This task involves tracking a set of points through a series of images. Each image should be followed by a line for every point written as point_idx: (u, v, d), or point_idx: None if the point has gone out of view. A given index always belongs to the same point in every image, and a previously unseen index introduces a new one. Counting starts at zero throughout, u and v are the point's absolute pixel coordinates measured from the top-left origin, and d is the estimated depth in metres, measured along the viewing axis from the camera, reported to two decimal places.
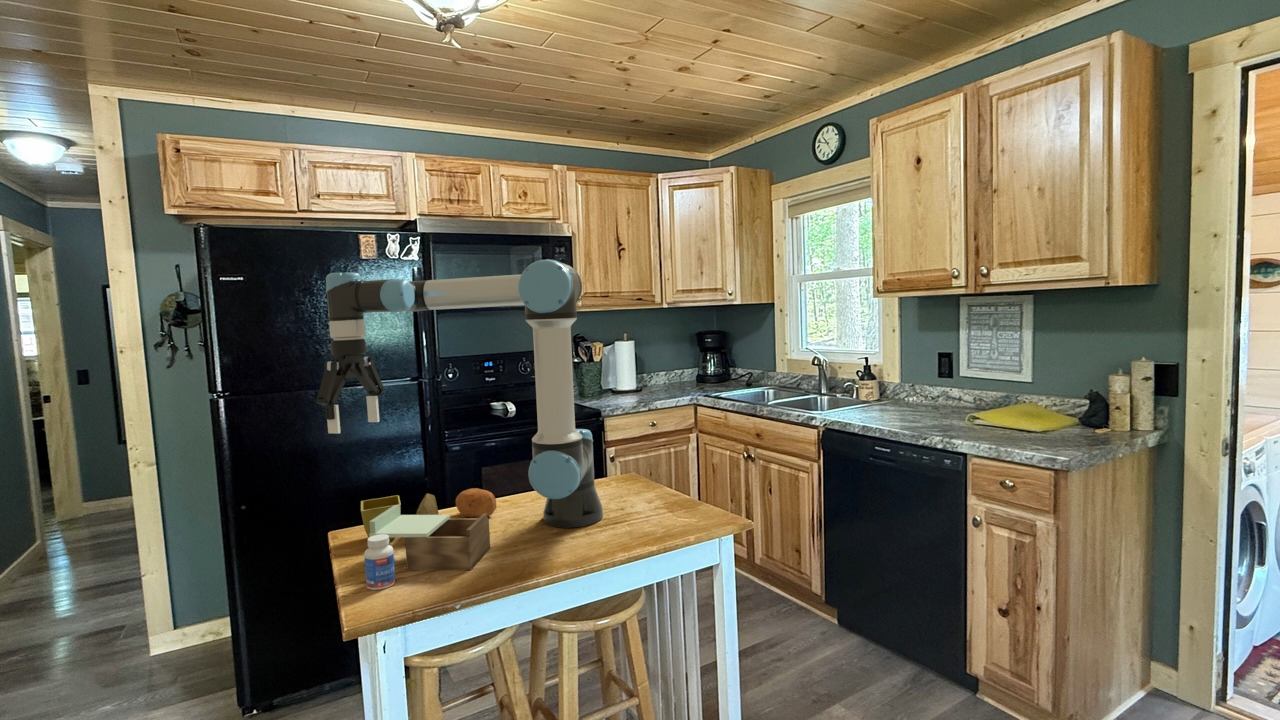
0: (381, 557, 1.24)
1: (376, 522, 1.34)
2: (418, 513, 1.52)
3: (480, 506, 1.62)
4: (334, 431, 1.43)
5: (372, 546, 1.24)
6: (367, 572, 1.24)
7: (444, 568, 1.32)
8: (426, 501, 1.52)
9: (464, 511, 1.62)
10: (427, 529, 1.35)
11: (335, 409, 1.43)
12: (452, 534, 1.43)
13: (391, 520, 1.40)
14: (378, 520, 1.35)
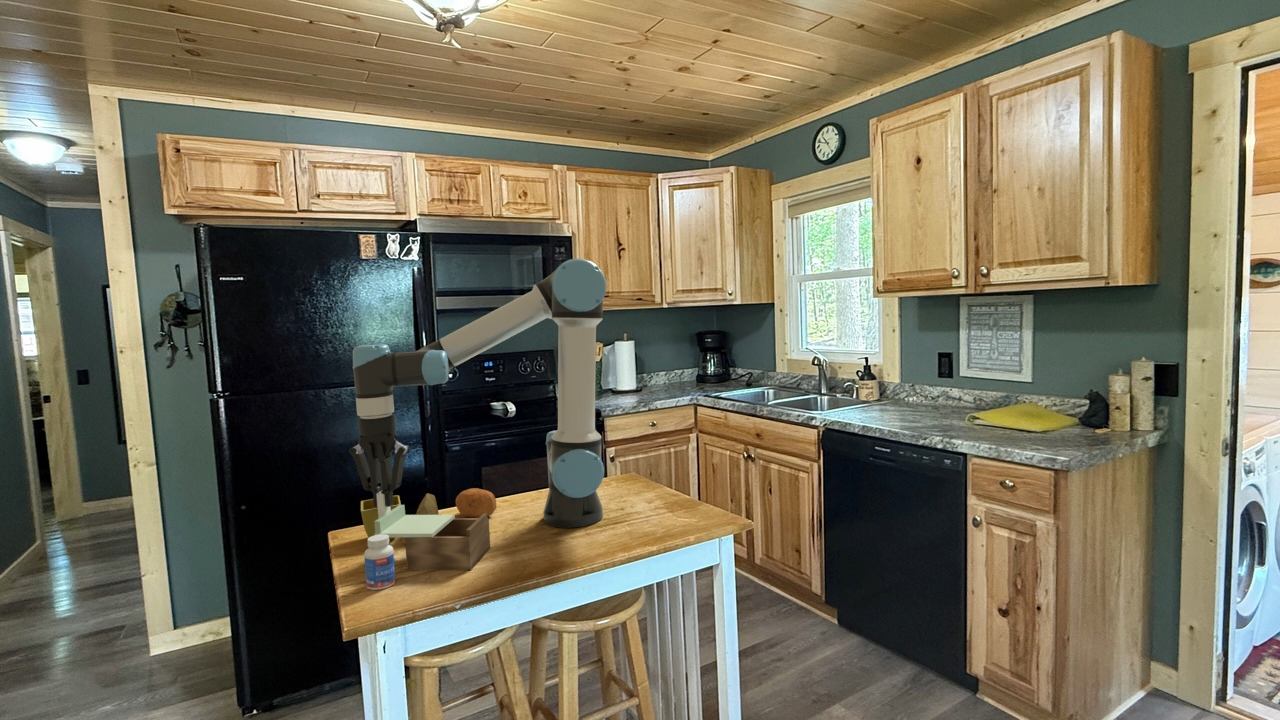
0: (381, 557, 1.24)
1: (381, 522, 1.34)
2: (418, 513, 1.52)
3: (480, 506, 1.62)
4: None
5: (372, 546, 1.24)
6: (367, 572, 1.24)
7: (444, 568, 1.32)
8: (426, 501, 1.52)
9: (464, 511, 1.62)
10: (432, 529, 1.34)
11: None
12: (452, 534, 1.43)
13: (396, 520, 1.40)
14: (383, 520, 1.35)
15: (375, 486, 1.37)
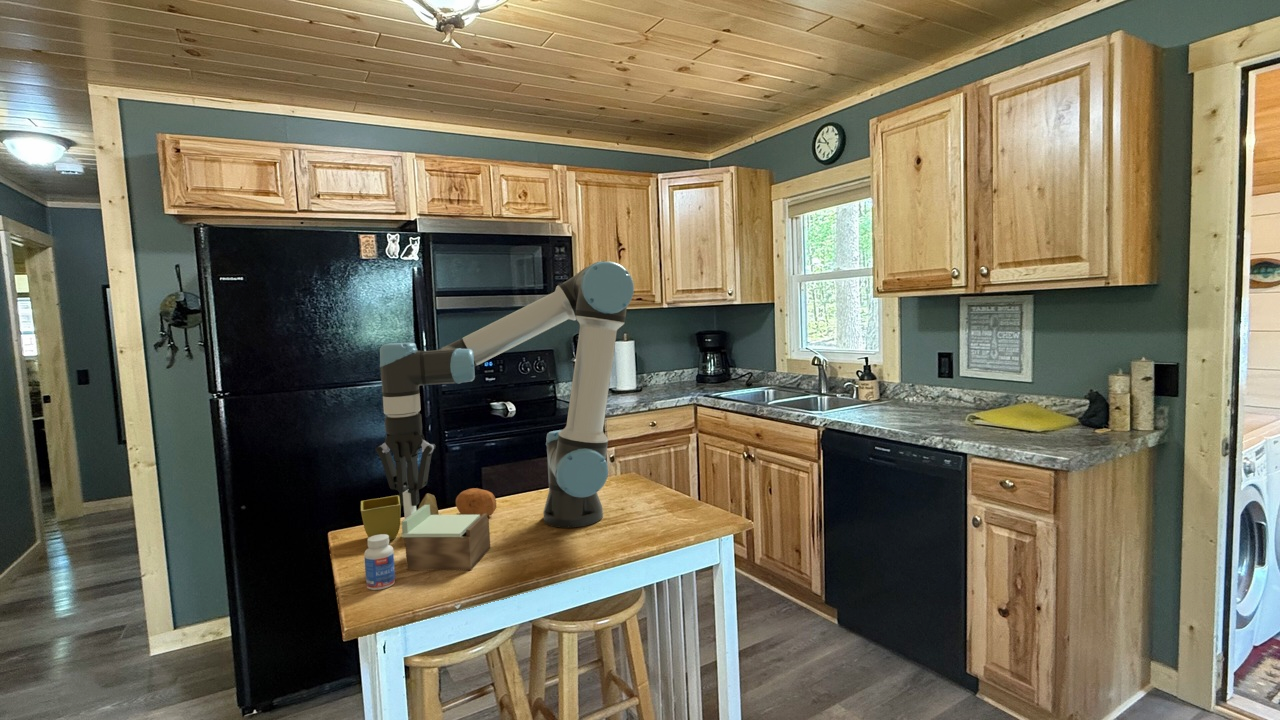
0: (381, 557, 1.24)
1: (408, 522, 1.33)
2: None
3: (480, 506, 1.62)
4: None
5: (372, 546, 1.24)
6: (367, 572, 1.24)
7: (444, 568, 1.32)
8: (426, 501, 1.52)
9: (464, 511, 1.62)
10: (459, 529, 1.34)
11: None
12: None
13: (422, 520, 1.40)
14: (410, 520, 1.34)
15: (401, 485, 1.37)
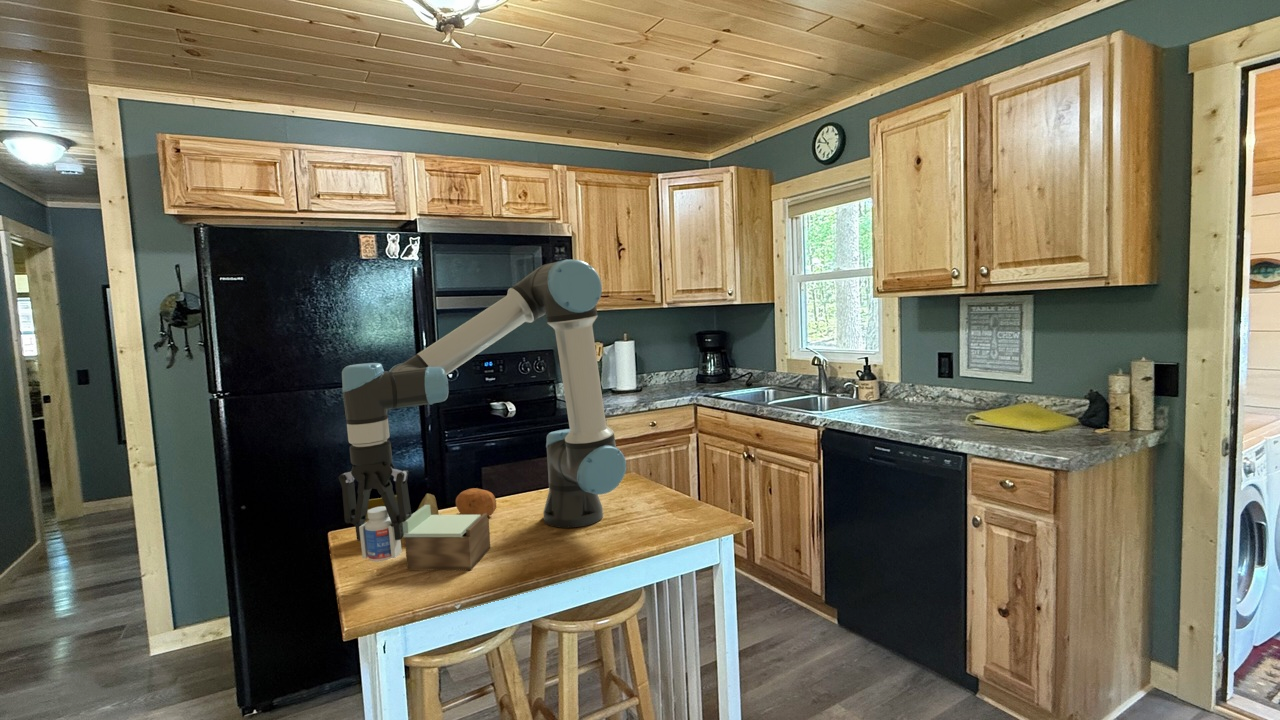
0: (382, 528, 1.24)
1: (409, 522, 1.33)
2: None
3: (480, 506, 1.62)
4: None
5: (372, 518, 1.24)
6: (368, 544, 1.24)
7: (444, 568, 1.32)
8: (426, 501, 1.52)
9: (464, 511, 1.62)
10: (459, 529, 1.34)
11: None
12: None
13: (422, 520, 1.40)
14: (410, 520, 1.34)
15: (359, 519, 1.25)
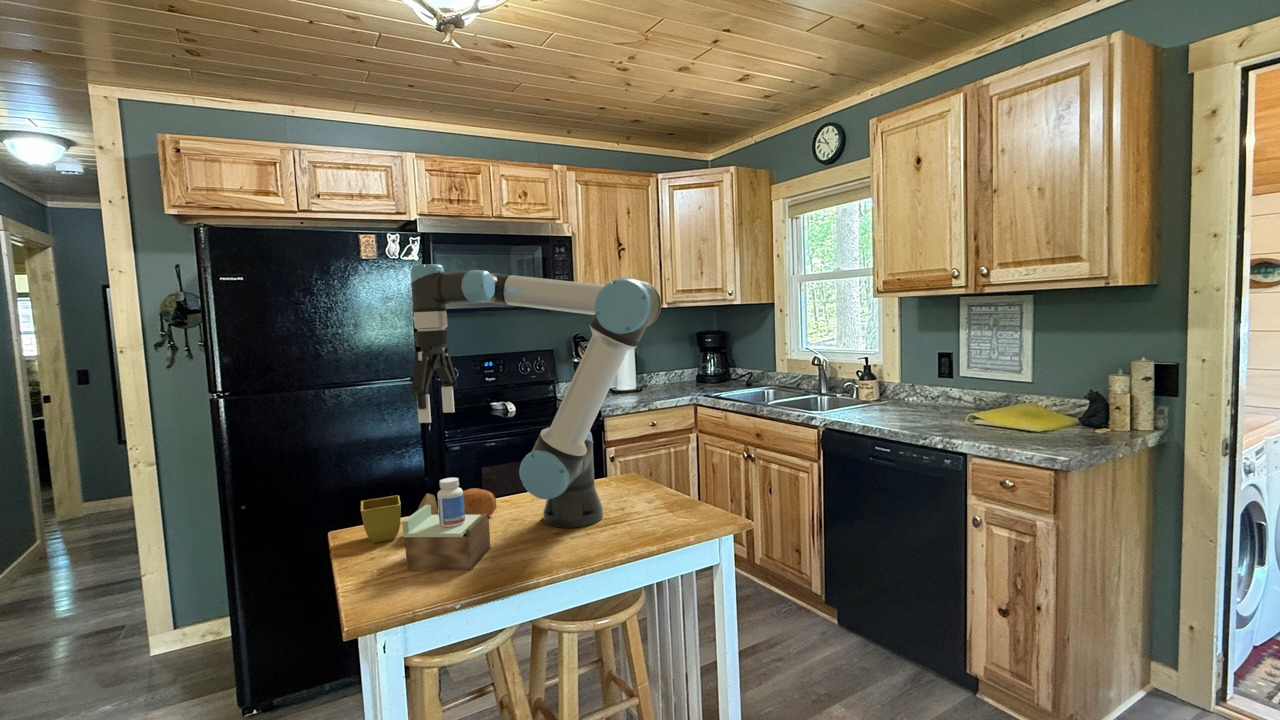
0: None
1: (409, 522, 1.33)
2: None
3: (480, 506, 1.62)
4: (425, 420, 1.45)
5: (458, 484, 1.37)
6: (459, 509, 1.36)
7: (444, 568, 1.32)
8: (426, 501, 1.52)
9: (464, 511, 1.62)
10: (460, 529, 1.34)
11: (427, 398, 1.45)
12: None
13: (423, 520, 1.40)
14: (411, 520, 1.34)
15: (427, 389, 1.45)
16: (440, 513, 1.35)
